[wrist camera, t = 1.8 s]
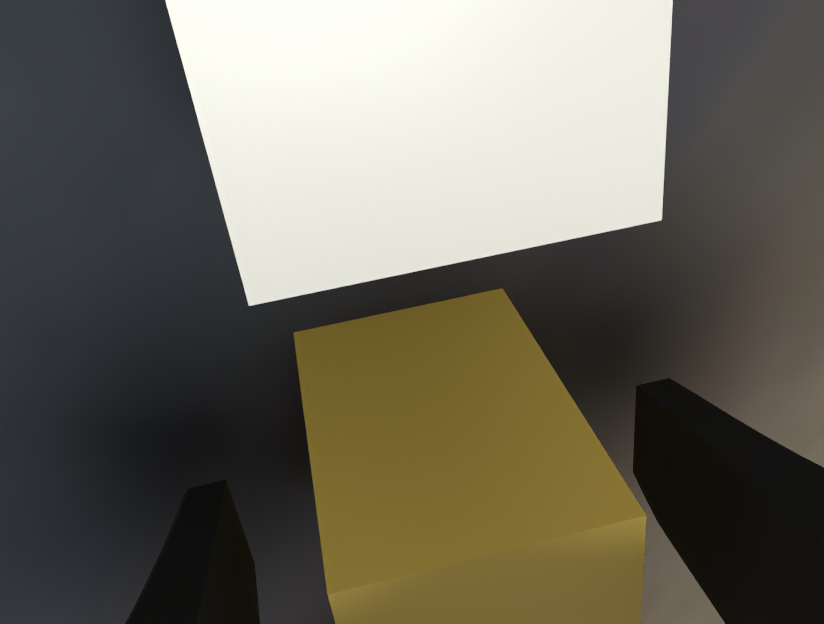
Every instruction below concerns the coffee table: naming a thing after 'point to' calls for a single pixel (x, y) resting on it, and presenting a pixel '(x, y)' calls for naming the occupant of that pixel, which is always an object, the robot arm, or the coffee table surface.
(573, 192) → the off-white bar
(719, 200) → the coffee table surface
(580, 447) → the mustard bar
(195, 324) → the coffee table surface
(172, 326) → the coffee table surface
